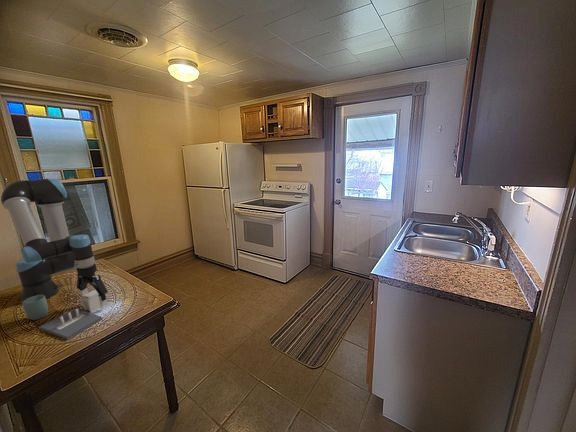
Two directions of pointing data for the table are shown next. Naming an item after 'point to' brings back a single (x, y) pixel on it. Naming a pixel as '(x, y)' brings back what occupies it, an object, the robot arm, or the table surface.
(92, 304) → the housing
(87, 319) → the board
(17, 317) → the table surface
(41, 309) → the cup
